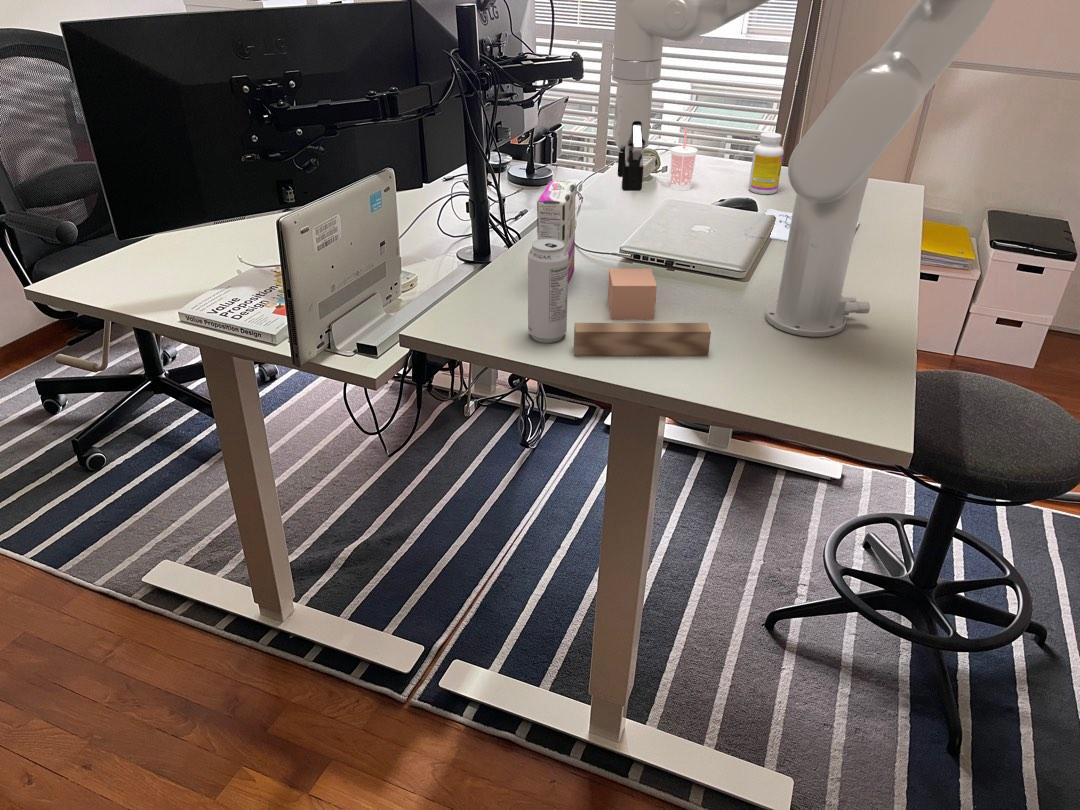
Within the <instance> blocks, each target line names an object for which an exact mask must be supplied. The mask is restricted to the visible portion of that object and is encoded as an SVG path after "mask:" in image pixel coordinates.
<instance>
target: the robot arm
mask: <svg viewBox="0 0 1080 810" xmlns="http://www.w3.org/2000/svg"><path fill="white" fill-rule="evenodd" d="M770 1H771V0H615V11H614V12H615V13H614V14H615V15H614V30H613V31H614V33H613V34H614V35H613V51H612V52H613V54H612V57H613V58H612V71H611V72H612V73H611V75H612V76H611V80H612V81H613V82H616V91H615V92H616V94H615V104H614V117H613V118H614V119H613V129H612V136H613V140H614V143H615V145H616V147H617V148H618V149H619V152H618V157H617V158H618V161H617V177H619V178H621V179H622V181H621V189H622V191H624V192H631V191H632V192H640V191H642V190H643V189H642V188H643V178H644V177H643V176H644V149H646V148H647V147H648V145H649V138H650V129H651V119H652V118H651V117H652V103H653V102H652V101H653V84H656V83H659V82H660V81H661V74H662V73H661V71H662V60H663V57H662V56H663V50H664V49H663V47H664V40H665V39H666V40H670V41H672V42H673V41H675V42H686V41H691V40H692V39H697V38H699V37H700V36H703V35H707V34H709V33H711V32H713V31H716V30H717V29H719V28H721V27H723V26H725V25H727V24H729V23H730V22H733V21H734V20H737V19H739V17H742V16H744V15H745V14H747V13H749V12H751V11H753V10H755V9H757V8H758V7H760V6H762V5H763V4H766V3H767V2H768V3H769V2H770ZM995 1H996V0H916V2H915V3H914V5H913V6H912V7H911V8H910V9H909V11H908V12H907V13H906V15H905V16H904V18H903V19H902V21H901V22H900V23H899V25H898V26H897V28H895V30H894V31H893V32H892V34H891V35H890V36H889V38H888V39H887V40H886V41H885V43H884V44H882V47H880V49H879V50H878V51H877V52H876V53H875V54H874V55H873V56H872V57H871V58H870V59H868V60H867V61H866V62H865V63H863V64H862V65H861V66H860V67H858V68H857V69H856V70H855V71H853V73H852V74H851V75H850V76H849V78H847V80H846V81H845V82H844V83H843V85H841V87H840V88H839V89H838V91H837V92H836V94H835V95H834V96H833V97H832V99H831V100H830V101H829V103H828V104H827V105H826V107H825V108H824V109H823V111H822V112H821V113H820V115H818V116H817V119H816V120H815V121H814V123H812V125H811V127H810V128H809V129H808V130H807V132H806V133H805V134H804V135H803V137H802V138H801V140H799V142H798V143H797V145H796V146H795V147H794V149H793V151H792V153H791V154H790V158H789V161H788V166H787V174H788V176H787V177H788V180H789V184H790V186H791V188H792V189H793V191H794V193H796V195H795V201H794V204H793V209H792V213H793V214H792V220H791V225H790V231H789V237H788V243H787V244H786V249H785V255H784V261H783V267H782V273H781V279H780V285H779V289H778V290H779V291H778V295H777V300H773V301H772V302H770V303H769V304H768V305H767V306H766V309H765V312H764V317H765V319H766V321H767V322H768V323H769V324H770V325H771V326H773V327H775V328H776V329H778V330H780V331H783V332H785V333H789V334H792V335H796V336H801V337H802V336H803V337H807V338H808V337H812V338H813V337H815V338H816V337H817V338H818V337H819V338H820V337H829V336H832V335H837V334H839V333H840V332H842V331H843V330H844V329H845V327H846V324H847V317H846V316H849V315H850V314H869V313H870V309H871V306H870V302H869V301H857V297H856V296H843V289H844V284H845V280H846V274H847V271H848V266H849V261H850V258H851V252H852V248H853V243H854V239H855V236H856V235H855V234H856V232H857V231H856V229H857V228H858V227H857V222H858V219H859V217H860V212H861V209H862V204H863V199H864V196H865V192H866V188H867V186H868V181H869V178H870V175H871V171H872V167H873V165H874V163H875V162H876V161H877V160H878V159H879V157H881V155H882V154H883V152H884V151H885V150H886V149H887V148H888V146H889V145H890V144H891V143H892V142H893V140H894V139H895V138H896V137H897V136H898V135H899V133H901V131H902V130H903V129H904V128H905V126H906V125H907V124H908V123H909V121H910V120H911V119H912V117H913V116H914V115H915V113H916V112H917V110H919V108H920V106H921V105H922V103H923V101H924V99H925V97H926V96H927V94H928V93H929V91H930V90H931V89H932V87H933V86H934V84H936V83H937V81H938V80H939V79H940V77H942V75H943V74H944V73H945V72H946V70H947V69H948V68H949V66H950V65H951V64H952V63H953V62H954V60H955V59H956V58H957V57H958V55H959V54H960V53H961V51H962V50H963V49H964V47H965V46H966V45H967V44H968V43H969V41H970V40H971V39H972V38H973V36H974V35H976V34H975V33H976V32H977V31H978V29H979V28H980V27H981V26H982V24H983V22H984V21H985V19H986V18H987V17H988V15H989V13H990V12H991V10H992V8H993V6H994V4H995ZM856 227H857V228H856Z"/></svg>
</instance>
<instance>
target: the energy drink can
mask: <svg viewBox="0 0 1080 810" xmlns="http://www.w3.org/2000/svg"><path fill="white" fill-rule="evenodd" d="M568 258H569V255H568V253H567V251H566V249H565V244H564V242H563V241H561V240H558V239H551V238H544V239H538V238H537V239H536V240H533V241H532V243H531V248H530V249H529V252H528V253H527V331H528V333H529V334H530V335H531V338H532V339H533V340H535V341H537V342H540V343H545V344H546V343H547V344H548V343H556V342H559V341H560V340H562V339H563V337H564V335H565V334H566V333H567V325H568V295H569V293H568V291H569V290H568V289H569V283H568Z"/></svg>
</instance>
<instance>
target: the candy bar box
mask: <svg viewBox="0 0 1080 810" xmlns="http://www.w3.org/2000/svg"><path fill="white" fill-rule="evenodd" d="M576 185H577V182H572V181H562V180H561V181H557V180H551V181H549V182H548V183H547V185H546V187H545V188H544V190H543V192H542V193H541V195H540V196H539V198H538V199H537V201H536V206H537V207H536V209H537V210H536V211H537V212H536V213H537V214H536V215H537V218H536V219H537V220H536V221H537V222H536V223H537V224H536V225H537V228H536V230H537V231H536V232H537V233H536V234H537V235H536V236H537V240H538V239H544V238H551V239H558V240H561V241H563V242H564V244H565V249H566V251H567V253H568V255H569V258H568V284H569V282H570V280H571V278H572V275H573V274H574V272H575V252H576V250H575V249H576V247H575V246H576V245H575V242H576V237H575V236H576V195H577V193H576V192H577V191H576Z"/></svg>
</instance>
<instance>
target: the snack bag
mask: <svg viewBox="0 0 1080 810" xmlns="http://www.w3.org/2000/svg"><path fill="white" fill-rule="evenodd" d="M764 214H766V215H775V217H776V221H775V225H774V228H773V230H772V232H771V235H770V238H771V239H772V240H771V241H776V240H780V241H779V242H781V241H784V242H783V243H786V242H788V237H789V231H790V225H791V220H792V214H793V212H787V211H780V210H777V209H773V208H767V209H766V211H765V213H764ZM860 222H861V219H859V218H858V222H857V227H856V229H858V227H859V225H860Z"/></svg>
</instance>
